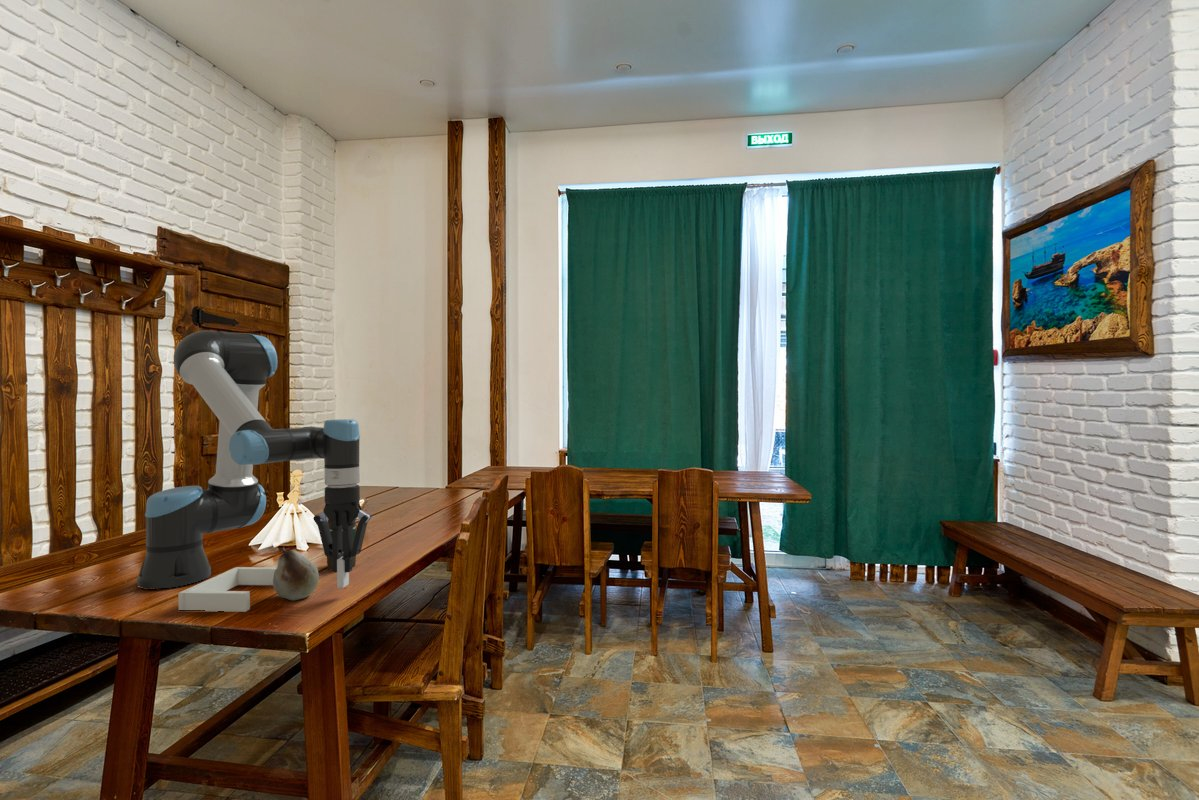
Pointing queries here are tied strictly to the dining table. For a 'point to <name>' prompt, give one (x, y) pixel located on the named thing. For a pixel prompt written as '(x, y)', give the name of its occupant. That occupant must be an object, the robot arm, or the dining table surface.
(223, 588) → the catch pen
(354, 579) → the dining table surface
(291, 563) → the fruit
